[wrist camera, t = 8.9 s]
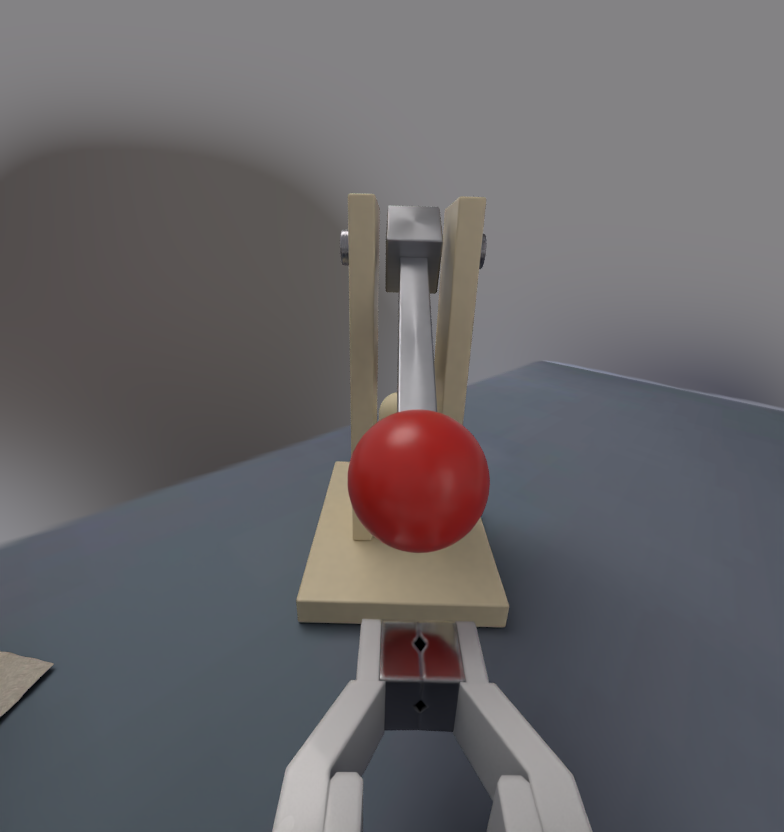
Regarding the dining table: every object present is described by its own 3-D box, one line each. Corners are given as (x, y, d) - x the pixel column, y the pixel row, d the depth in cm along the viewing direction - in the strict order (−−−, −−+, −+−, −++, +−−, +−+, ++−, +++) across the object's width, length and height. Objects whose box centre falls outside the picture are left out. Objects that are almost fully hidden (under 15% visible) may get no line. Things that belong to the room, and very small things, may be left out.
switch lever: (481, 573, 11) (519, 519, 8) (346, 570, 10) (333, 514, 8) (447, 270, 19) (458, 191, 16) (372, 268, 19) (371, 189, 16)
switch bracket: (506, 628, 17) (591, 180, 11) (297, 623, 17) (257, 170, 11) (462, 480, 28) (491, 217, 22) (335, 476, 28) (327, 212, 22)
